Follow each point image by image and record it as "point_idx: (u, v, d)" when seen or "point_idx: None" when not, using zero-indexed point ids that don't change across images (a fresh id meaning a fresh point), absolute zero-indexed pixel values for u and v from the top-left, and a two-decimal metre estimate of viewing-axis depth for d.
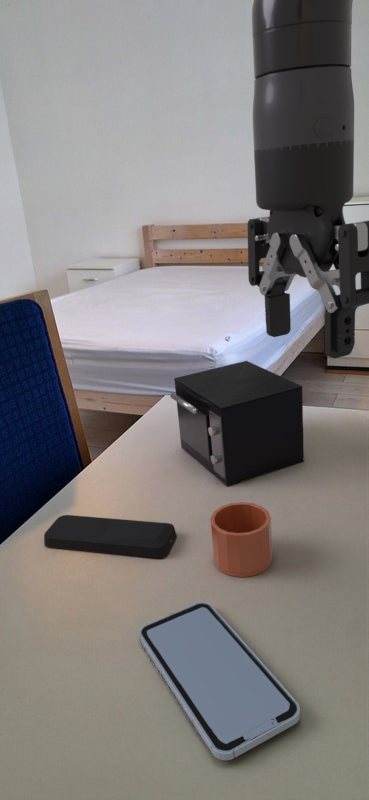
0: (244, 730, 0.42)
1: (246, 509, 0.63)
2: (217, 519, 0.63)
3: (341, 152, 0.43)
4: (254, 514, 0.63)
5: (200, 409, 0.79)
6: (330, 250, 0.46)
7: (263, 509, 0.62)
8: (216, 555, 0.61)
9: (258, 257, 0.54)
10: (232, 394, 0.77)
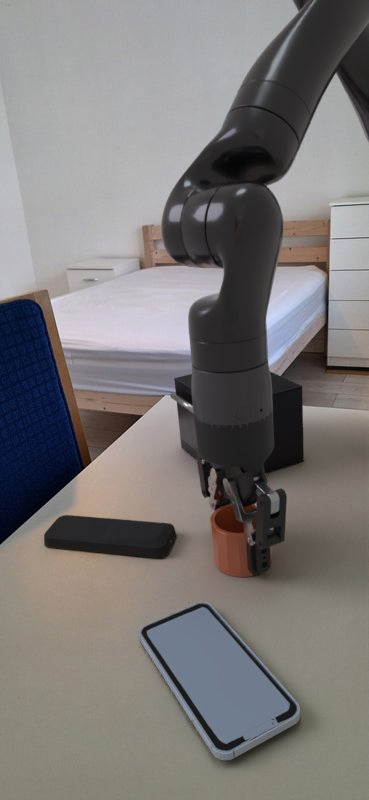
0: (244, 730, 0.42)
1: (246, 509, 0.63)
2: (217, 519, 0.63)
3: (260, 427, 0.54)
4: None
5: None
6: (255, 492, 0.57)
7: None
8: (216, 555, 0.61)
9: (206, 475, 0.64)
10: None
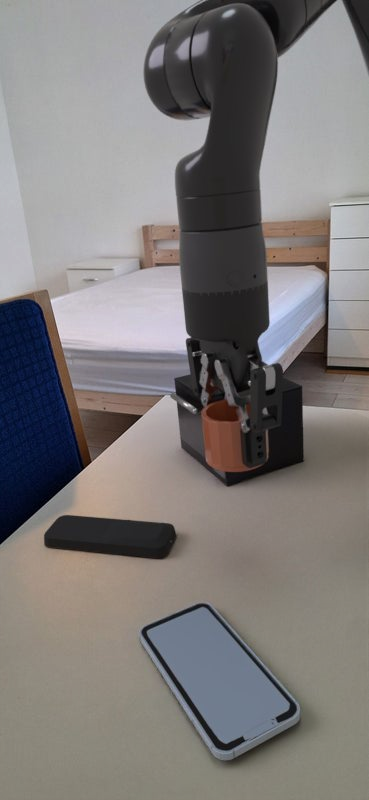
0: (244, 730, 0.42)
1: None
2: (209, 415, 0.58)
3: (253, 296, 0.50)
4: (249, 410, 0.59)
5: (200, 409, 0.79)
6: (249, 374, 0.53)
7: None
8: (208, 450, 0.57)
9: (198, 370, 0.60)
10: None
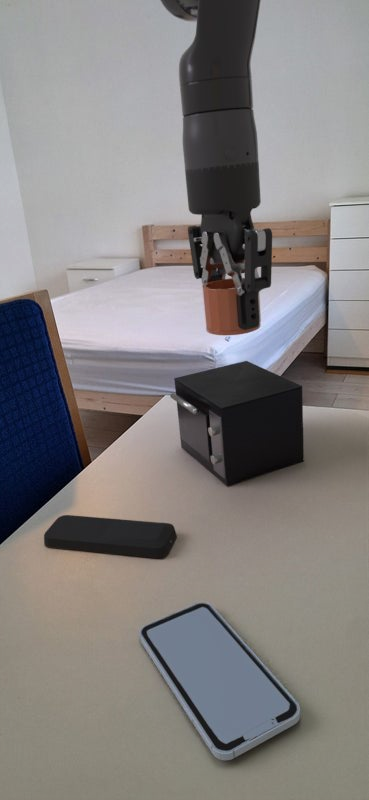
0: (244, 730, 0.42)
1: None
2: None
3: (246, 171, 0.58)
4: None
5: (200, 409, 0.79)
6: None
7: None
8: (208, 319, 0.65)
9: (198, 255, 0.68)
10: (232, 394, 0.77)
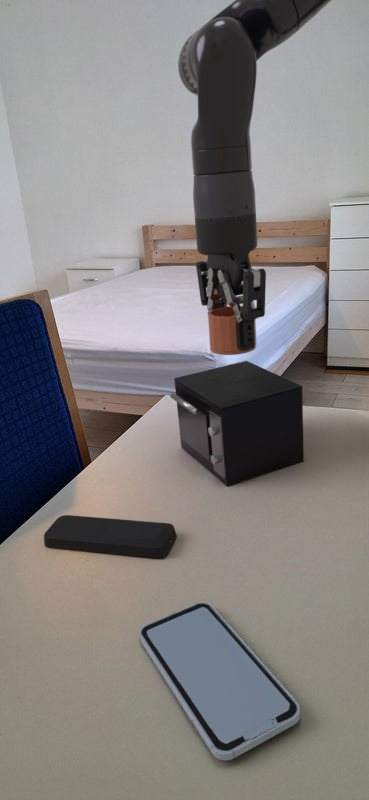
0: (244, 730, 0.42)
1: None
2: None
3: (245, 221, 0.71)
4: None
5: (200, 409, 0.79)
6: (242, 280, 0.74)
7: None
8: (212, 340, 0.78)
9: (205, 286, 0.81)
10: (232, 394, 0.77)
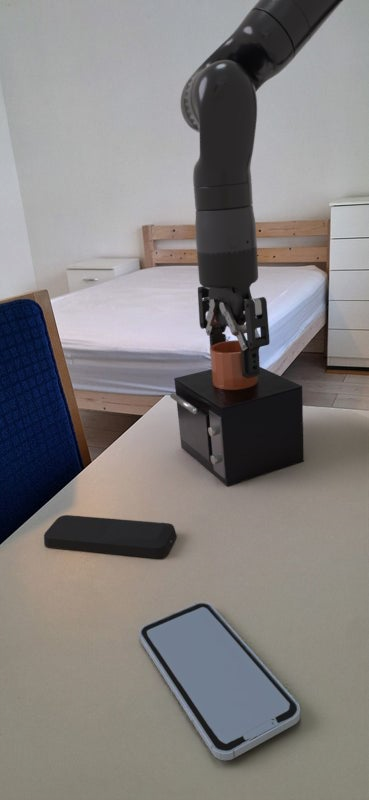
0: (244, 730, 0.42)
1: (238, 345, 0.82)
2: None
3: (246, 255, 0.72)
4: None
5: (200, 409, 0.79)
6: (243, 312, 0.75)
7: None
8: (214, 375, 0.79)
9: (205, 311, 0.82)
10: (232, 394, 0.77)
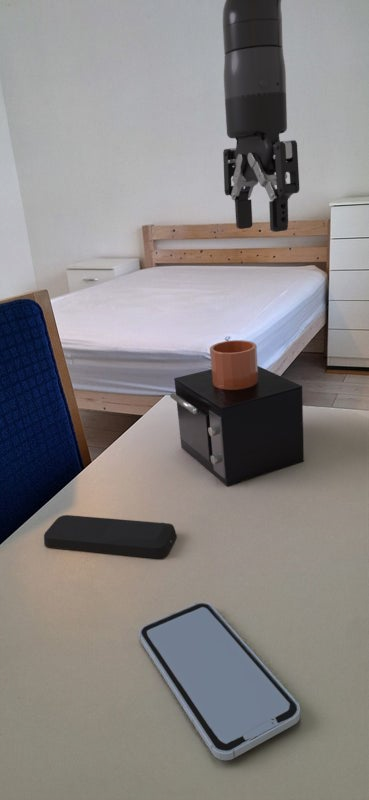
0: (244, 730, 0.42)
1: (238, 345, 0.82)
2: None
3: (276, 99, 0.71)
4: (244, 348, 0.81)
5: (200, 409, 0.79)
6: (272, 162, 0.74)
7: (251, 342, 0.80)
8: (214, 375, 0.79)
9: (230, 175, 0.81)
10: (232, 394, 0.77)
